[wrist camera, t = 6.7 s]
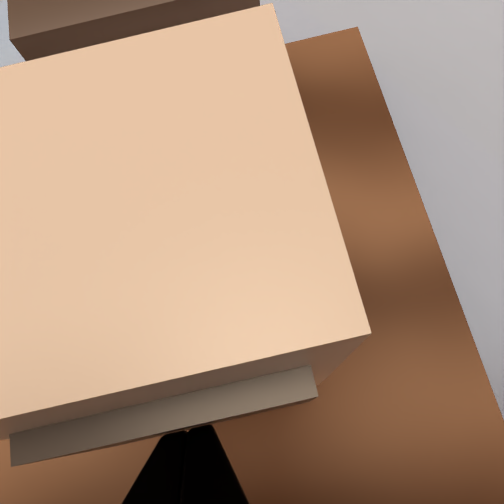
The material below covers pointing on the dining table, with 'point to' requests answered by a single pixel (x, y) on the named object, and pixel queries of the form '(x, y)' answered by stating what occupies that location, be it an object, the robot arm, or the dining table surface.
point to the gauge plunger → (163, 240)
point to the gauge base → (372, 295)
